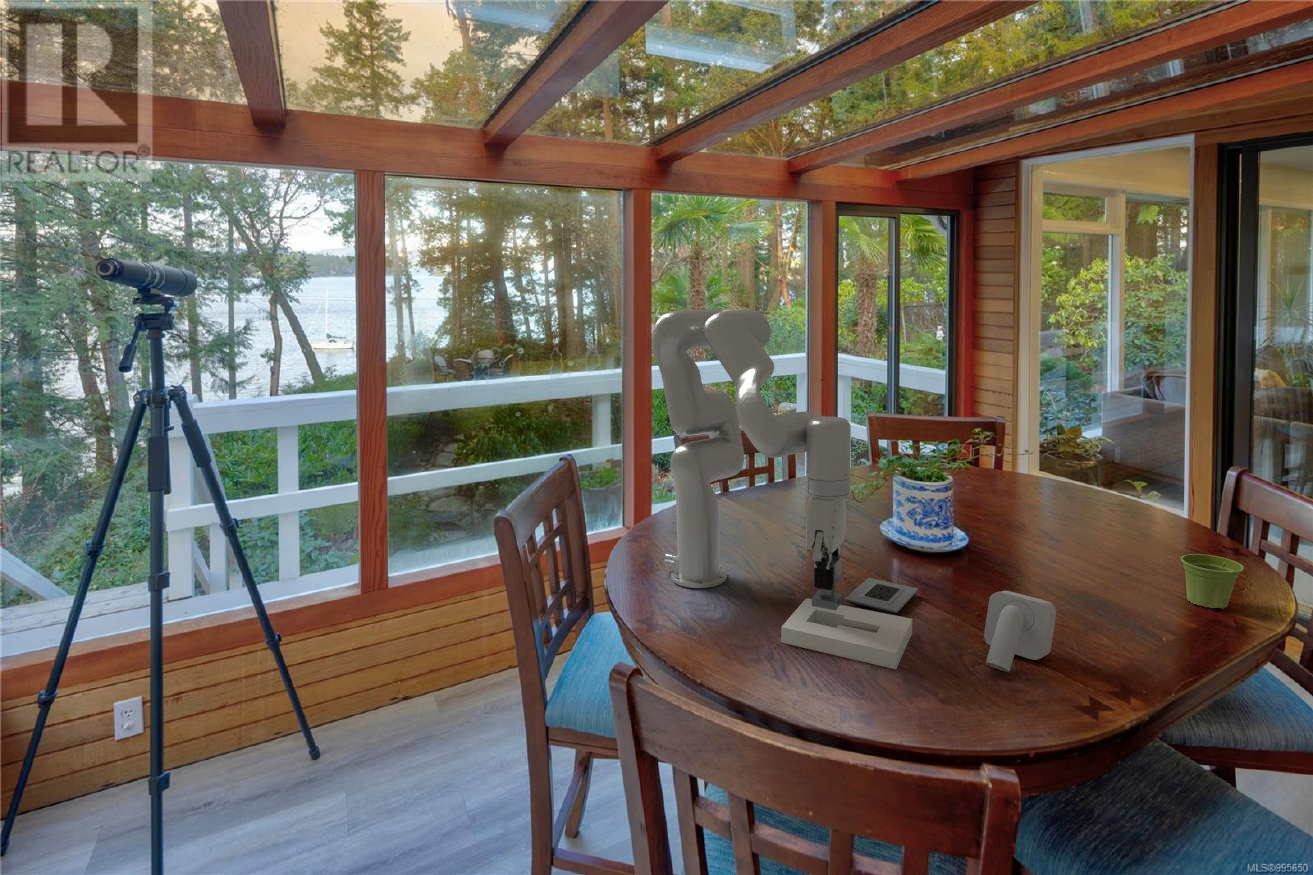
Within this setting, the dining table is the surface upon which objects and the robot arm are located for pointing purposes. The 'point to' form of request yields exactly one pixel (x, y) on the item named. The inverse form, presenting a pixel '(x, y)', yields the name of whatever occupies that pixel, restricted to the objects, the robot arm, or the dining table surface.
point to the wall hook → (1018, 628)
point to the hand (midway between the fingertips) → (827, 582)
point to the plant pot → (1210, 579)
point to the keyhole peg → (830, 597)
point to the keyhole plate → (849, 633)
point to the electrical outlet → (881, 595)
